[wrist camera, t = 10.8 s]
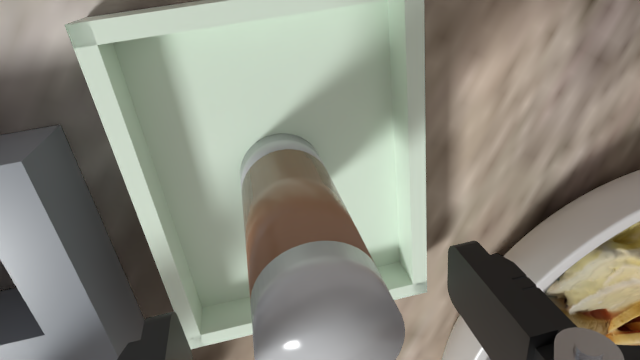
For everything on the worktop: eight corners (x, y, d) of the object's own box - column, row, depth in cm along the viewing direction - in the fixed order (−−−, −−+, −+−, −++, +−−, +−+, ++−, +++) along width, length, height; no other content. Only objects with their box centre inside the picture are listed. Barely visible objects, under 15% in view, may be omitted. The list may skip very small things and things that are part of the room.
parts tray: (85, 17, 17) (64, 24, 15) (400, -29, 18) (424, -29, 16) (192, 315, 24) (188, 349, 22) (409, 264, 26) (426, 292, 24)
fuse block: (-200, 170, 17) (-310, 221, 14) (60, 124, 18) (21, 161, 15) (7, 438, 25) (-28, 513, 22) (176, 394, 27) (169, 459, 23)
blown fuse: (231, 142, 20) (239, 309, 10) (316, 126, 20) (402, 270, 10) (249, 215, 21) (269, 415, 12) (326, 199, 22) (406, 379, 12)
